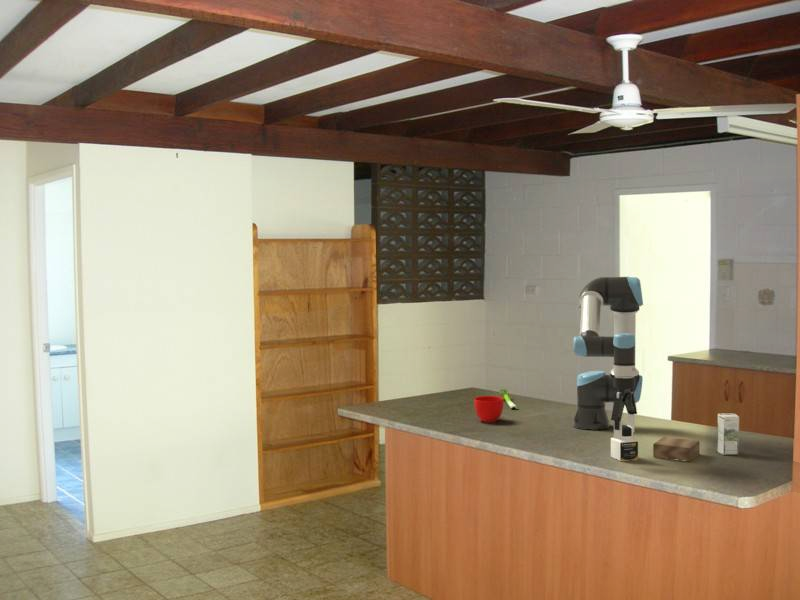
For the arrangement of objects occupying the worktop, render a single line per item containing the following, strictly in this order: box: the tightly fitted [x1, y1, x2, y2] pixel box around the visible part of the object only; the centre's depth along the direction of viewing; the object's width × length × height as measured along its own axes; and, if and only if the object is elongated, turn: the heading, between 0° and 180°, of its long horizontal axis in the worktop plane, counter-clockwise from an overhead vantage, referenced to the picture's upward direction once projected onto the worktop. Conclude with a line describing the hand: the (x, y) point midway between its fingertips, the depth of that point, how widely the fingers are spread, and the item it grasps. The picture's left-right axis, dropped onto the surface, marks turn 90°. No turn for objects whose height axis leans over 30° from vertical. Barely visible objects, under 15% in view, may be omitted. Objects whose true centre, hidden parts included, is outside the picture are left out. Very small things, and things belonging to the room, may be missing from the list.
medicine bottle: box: [610, 424, 639, 462], centre depth 307 cm, size 7×7×12 cm
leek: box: [498, 388, 520, 410], centre depth 416 cm, size 6×7×30 cm
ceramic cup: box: [473, 395, 505, 423], centre depth 378 cm, size 13×17×10 cm
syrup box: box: [716, 412, 740, 456], centre depth 312 cm, size 6×6×14 cm
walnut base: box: [652, 436, 701, 462], centre depth 309 cm, size 13×13×5 cm
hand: (624, 435), depth 306 cm, fingers open, 13 cm apart
